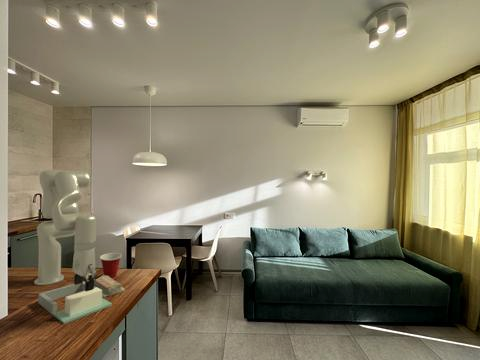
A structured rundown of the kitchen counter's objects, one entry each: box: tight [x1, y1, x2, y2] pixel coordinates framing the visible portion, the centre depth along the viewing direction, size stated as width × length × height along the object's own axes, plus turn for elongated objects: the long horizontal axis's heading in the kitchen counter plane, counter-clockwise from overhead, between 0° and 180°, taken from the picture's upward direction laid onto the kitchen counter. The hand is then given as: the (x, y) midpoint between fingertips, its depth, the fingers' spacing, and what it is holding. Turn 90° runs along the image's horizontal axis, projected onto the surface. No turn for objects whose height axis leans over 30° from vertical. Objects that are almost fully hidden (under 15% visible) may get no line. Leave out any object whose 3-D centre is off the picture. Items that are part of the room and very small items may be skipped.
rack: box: [37, 280, 96, 315], centre depth 112 cm, size 16×18×4 cm
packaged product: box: [94, 274, 125, 298], centre depth 125 cm, size 18×5×10 cm
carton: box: [64, 287, 103, 316], centre depth 104 cm, size 5×12×6 cm, turn 144°
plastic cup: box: [99, 252, 123, 279], centre depth 140 cm, size 11×11×12 cm
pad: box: [53, 297, 113, 325], centre depth 104 cm, size 10×18×1 cm, turn 145°
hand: (83, 286), depth 105 cm, fingers open, 9 cm apart
